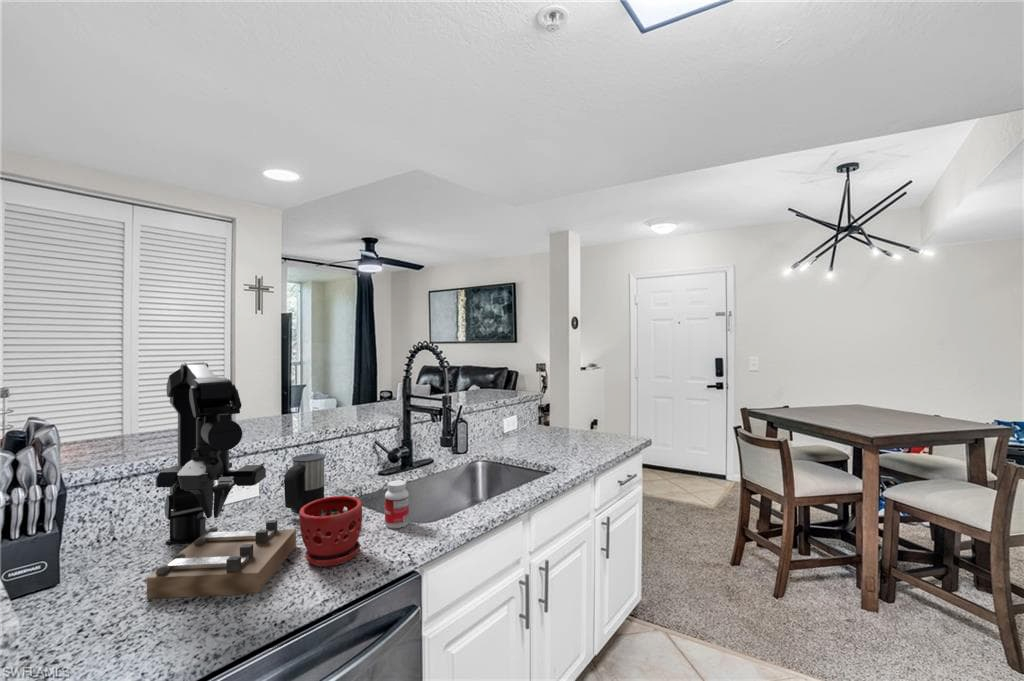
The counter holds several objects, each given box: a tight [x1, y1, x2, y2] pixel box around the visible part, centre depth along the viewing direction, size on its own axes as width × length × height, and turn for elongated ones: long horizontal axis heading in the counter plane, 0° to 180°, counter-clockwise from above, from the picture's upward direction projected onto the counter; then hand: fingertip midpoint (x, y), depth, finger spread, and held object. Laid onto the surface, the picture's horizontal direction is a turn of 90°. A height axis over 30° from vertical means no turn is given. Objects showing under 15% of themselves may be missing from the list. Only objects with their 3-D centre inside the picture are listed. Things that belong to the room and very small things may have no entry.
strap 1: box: [168, 556, 249, 570], centre depth 95 cm, size 14×3×1 cm, turn 96°
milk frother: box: [283, 453, 345, 513], centre depth 136 cm, size 14×16×15 cm
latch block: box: [146, 519, 297, 600], centre depth 101 cm, size 20×21×6 cm
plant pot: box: [298, 495, 363, 567], centre depth 107 cm, size 13×13×12 cm
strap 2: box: [204, 529, 274, 541], centre depth 108 cm, size 14×3×1 cm, turn 96°
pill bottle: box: [384, 479, 410, 529], centre depth 126 cm, size 6×6×11 cm
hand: (212, 517), depth 97 cm, fingers closed
